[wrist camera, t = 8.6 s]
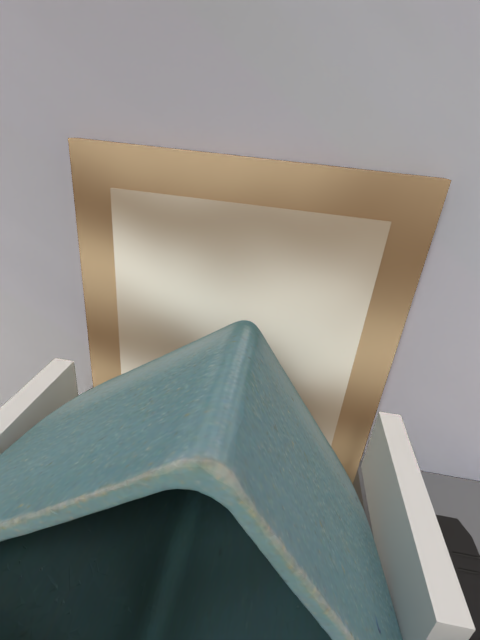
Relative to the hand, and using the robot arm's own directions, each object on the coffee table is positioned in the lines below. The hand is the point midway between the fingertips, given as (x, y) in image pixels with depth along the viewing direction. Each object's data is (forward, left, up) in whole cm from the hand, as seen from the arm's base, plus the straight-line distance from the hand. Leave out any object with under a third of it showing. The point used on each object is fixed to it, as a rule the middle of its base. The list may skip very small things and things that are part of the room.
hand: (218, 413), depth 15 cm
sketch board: (0, 0, -3) cm, 3 cm away
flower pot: (0, 0, -1) cm, 1 cm away
